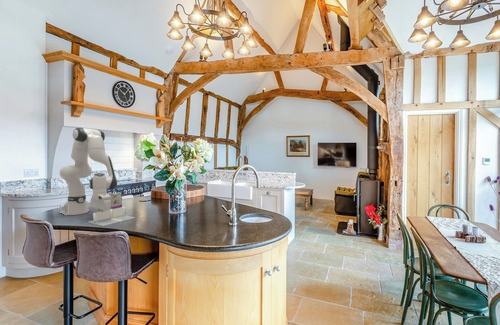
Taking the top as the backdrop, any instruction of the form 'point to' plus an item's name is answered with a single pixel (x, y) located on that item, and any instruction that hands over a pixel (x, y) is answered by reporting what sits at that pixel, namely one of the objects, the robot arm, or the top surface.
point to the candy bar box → (116, 200)
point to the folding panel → (101, 215)
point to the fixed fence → (117, 212)
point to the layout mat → (111, 220)
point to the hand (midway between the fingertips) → (100, 214)
